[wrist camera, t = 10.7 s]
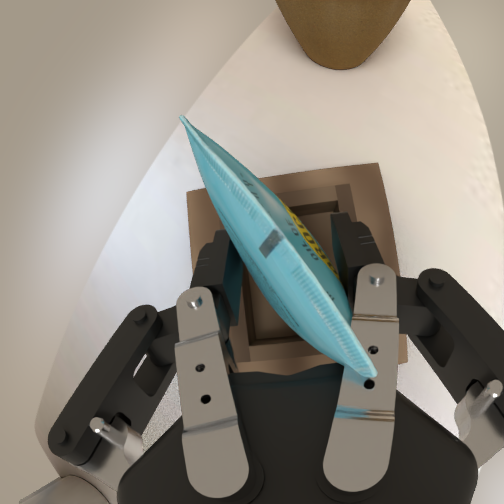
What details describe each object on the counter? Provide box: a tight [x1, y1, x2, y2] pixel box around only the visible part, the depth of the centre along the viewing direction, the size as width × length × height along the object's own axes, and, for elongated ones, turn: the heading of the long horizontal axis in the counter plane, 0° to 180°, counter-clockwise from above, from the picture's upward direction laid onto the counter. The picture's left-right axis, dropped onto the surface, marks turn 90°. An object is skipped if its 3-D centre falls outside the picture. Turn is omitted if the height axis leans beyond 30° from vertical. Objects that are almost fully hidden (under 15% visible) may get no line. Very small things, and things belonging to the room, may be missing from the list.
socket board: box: [187, 163, 408, 375], centre depth 25 cm, size 18×18×5 cm
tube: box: [179, 115, 378, 378], centre depth 16 cm, size 7×5×19 cm, turn 41°
